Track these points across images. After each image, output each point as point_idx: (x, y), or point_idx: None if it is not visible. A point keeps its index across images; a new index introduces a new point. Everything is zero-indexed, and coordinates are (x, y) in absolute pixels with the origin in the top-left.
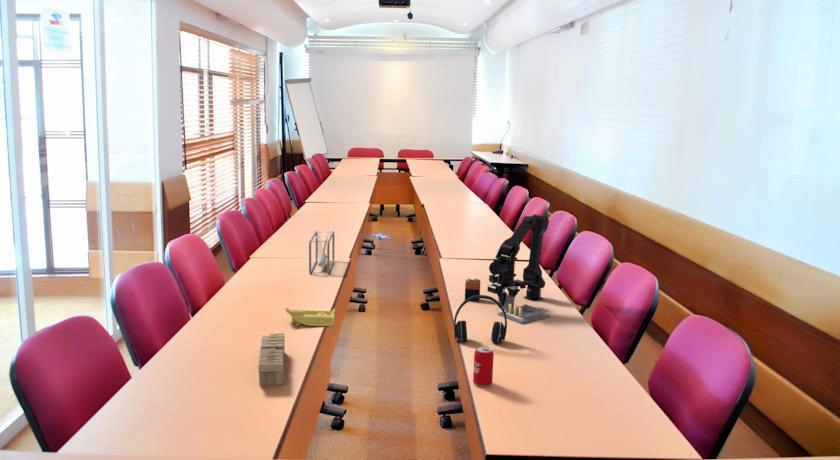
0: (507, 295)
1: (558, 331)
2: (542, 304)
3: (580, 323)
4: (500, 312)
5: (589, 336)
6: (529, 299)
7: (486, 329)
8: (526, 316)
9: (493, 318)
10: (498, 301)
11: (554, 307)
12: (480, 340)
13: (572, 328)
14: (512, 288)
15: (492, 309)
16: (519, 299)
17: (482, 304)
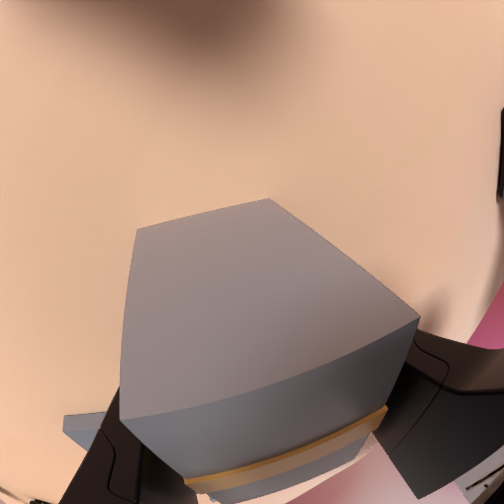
0: (312, 458)
1: (250, 500)
2: (480, 265)
3: (361, 452)
4: (83, 431)
5: (293, 497)
6: (502, 159)
7: (8, 471)
8: (211, 497)
9: (29, 434)
10: (131, 292)
11: (465, 319)
12: (4, 486)
13: (306, 482)
14: (478, 475)
15: (37, 282)
16: (481, 107)
17: (18, 35)
